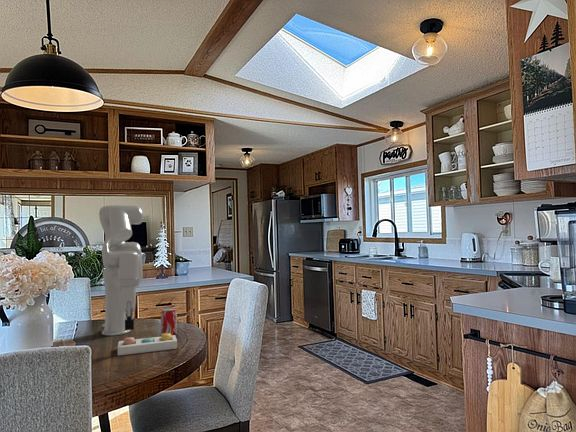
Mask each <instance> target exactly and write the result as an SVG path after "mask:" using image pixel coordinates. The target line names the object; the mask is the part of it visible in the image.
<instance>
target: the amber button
mask: <svg viewBox="0 0 576 432" xmlns="http://www.w3.org/2000/svg"><path fill="white" fill-rule="evenodd" d="M160 337H161V341H166V340H171V334H170V333H165V334H161V333H160Z"/></svg>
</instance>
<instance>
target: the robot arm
mask: <svg viewBox="0 0 576 432" xmlns="http://www.w3.org/2000/svg"><path fill="white" fill-rule="evenodd" d="M98 216H99V223H100V225H101V228H102V230H103V232H104V241H103V244H102V247H101V257H102V259H101V260H102V265H103V267H104V269H103V272H102V277H103V284H104V295H105V297H104V301H105V302H104V307H105V308H104V309H105V311H104V315H105V317H104V319H105V321H104V323H102V324H101V327H102V328H104V329H103V330H101V335H103V336H119V335H124V334H127V333H130V332H131V330H132V331H133V330H134V328H135V327H134V326H135V323H134V321H135V319H134V312H135V311H136V304H137V303H136V301H137V300H136V299H137V298H136V297H137V287H139V286H140V283H141V282H142V280H143V276H144V275H143V273H144V272H143V271H144V270H143V269H144V268H143V257H142V254H143V253H142V247H141V245H140V244H139V242H135V241H130V242H129V241H128V240H130V238H132V236H133V230H132V225H141V224H142V223H143V221H144V212H143V210H142V208H141V207H140V206H137V205H122V204H121V205H118V204H116V205H115V204H113V205H112V204H111V205H105V206H101V208H100V209H99V213H98Z"/></svg>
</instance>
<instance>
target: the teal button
mask: <svg viewBox="0 0 576 432" xmlns="http://www.w3.org/2000/svg"><path fill="white" fill-rule="evenodd" d="M145 338H146V339H143V338H142V339H143V343H148V342H153V338H152V337H145Z"/></svg>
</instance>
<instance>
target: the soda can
mask: <svg viewBox="0 0 576 432" xmlns="http://www.w3.org/2000/svg"><path fill="white" fill-rule="evenodd" d="M165 333H170V334H171V335H175V336H176V335H177V334H178V313H177V310H176V308H174V307H166V308H162V309H161V313H160V335H161V334H165Z"/></svg>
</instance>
